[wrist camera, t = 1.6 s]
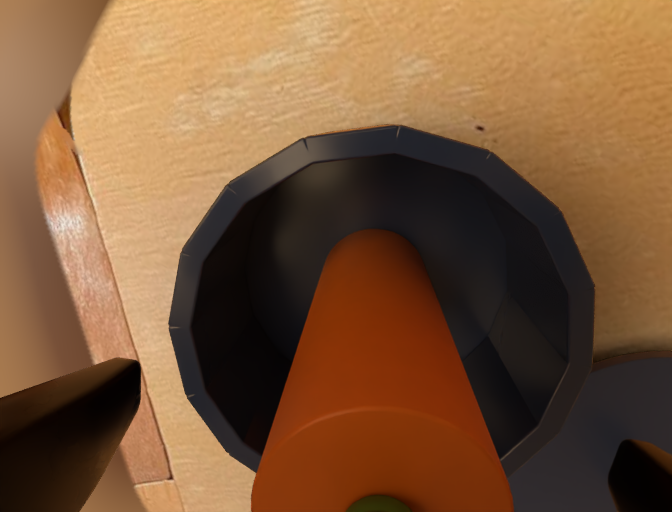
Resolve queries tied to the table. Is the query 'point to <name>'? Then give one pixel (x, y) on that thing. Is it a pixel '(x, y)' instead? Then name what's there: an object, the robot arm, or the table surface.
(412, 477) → the carrot
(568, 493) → the lid
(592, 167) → the table surface
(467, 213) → the pot
